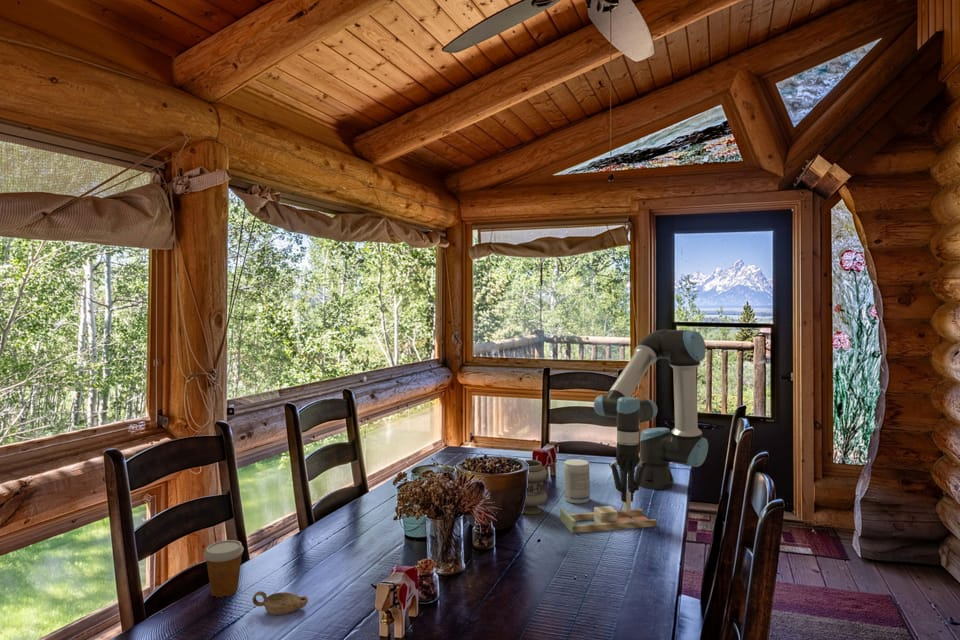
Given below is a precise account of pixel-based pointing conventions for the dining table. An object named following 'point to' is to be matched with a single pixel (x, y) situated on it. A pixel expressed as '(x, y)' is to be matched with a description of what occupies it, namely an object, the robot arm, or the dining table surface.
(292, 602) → the oil lamp
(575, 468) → the supplement tub
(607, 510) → the birch block
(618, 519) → the trap pads
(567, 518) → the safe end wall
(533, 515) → the apothecary jar
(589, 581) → the dining table surface
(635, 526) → the channel rails
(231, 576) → the disposable coffee cup
